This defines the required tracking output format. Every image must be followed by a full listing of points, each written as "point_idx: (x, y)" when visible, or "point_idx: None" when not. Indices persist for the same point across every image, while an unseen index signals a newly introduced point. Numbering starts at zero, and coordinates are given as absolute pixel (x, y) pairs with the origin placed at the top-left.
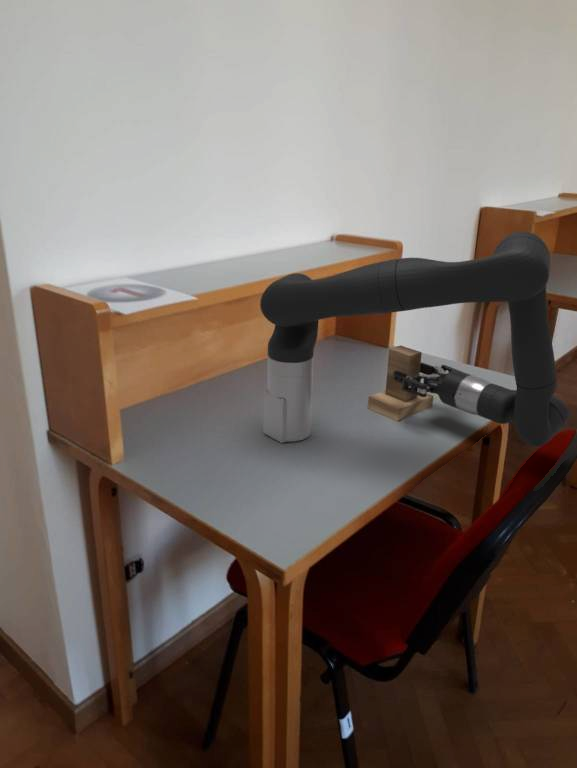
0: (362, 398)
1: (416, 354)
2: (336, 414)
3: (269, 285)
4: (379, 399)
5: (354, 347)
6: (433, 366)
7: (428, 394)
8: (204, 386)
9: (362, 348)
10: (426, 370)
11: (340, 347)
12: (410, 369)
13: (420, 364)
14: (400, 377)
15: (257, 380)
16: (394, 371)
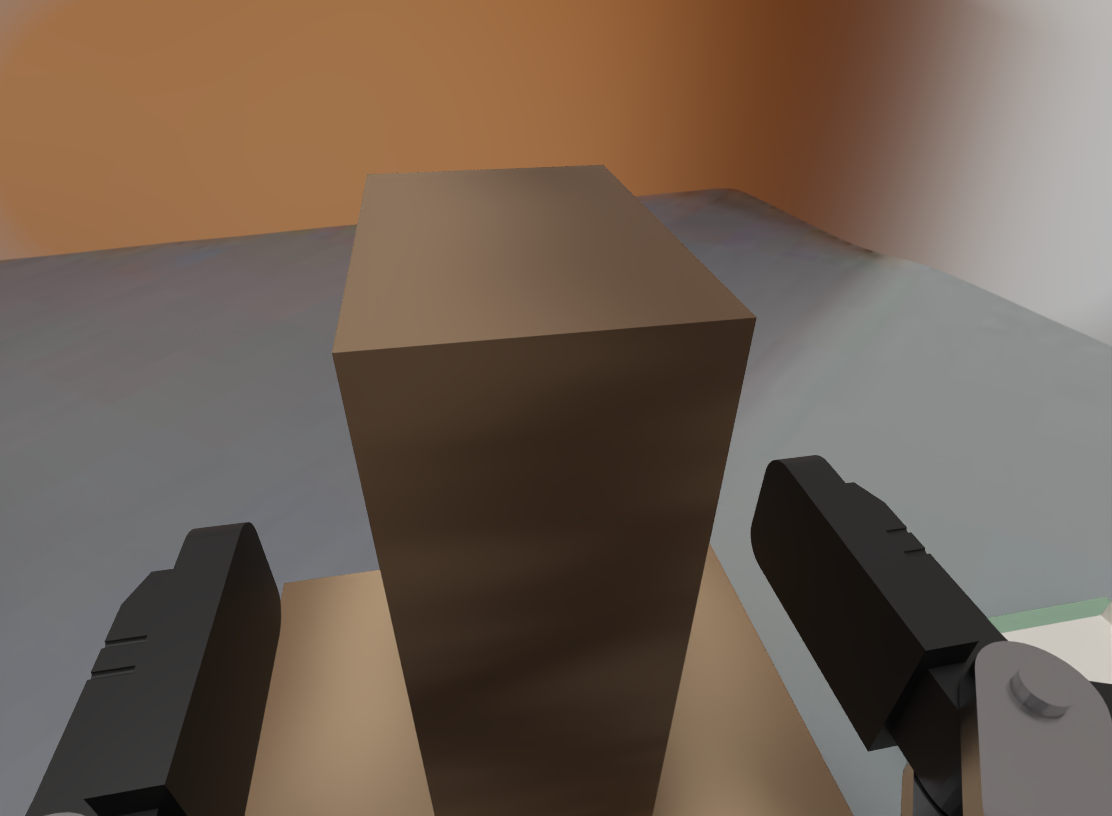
0: None
1: (581, 345)
2: (65, 626)
3: None
4: (294, 669)
5: (748, 231)
6: (973, 638)
7: (832, 797)
8: (42, 266)
9: (774, 239)
10: (832, 618)
11: (698, 223)
12: (441, 588)
13: (783, 484)
14: (74, 735)
15: (224, 281)
16: (190, 534)
